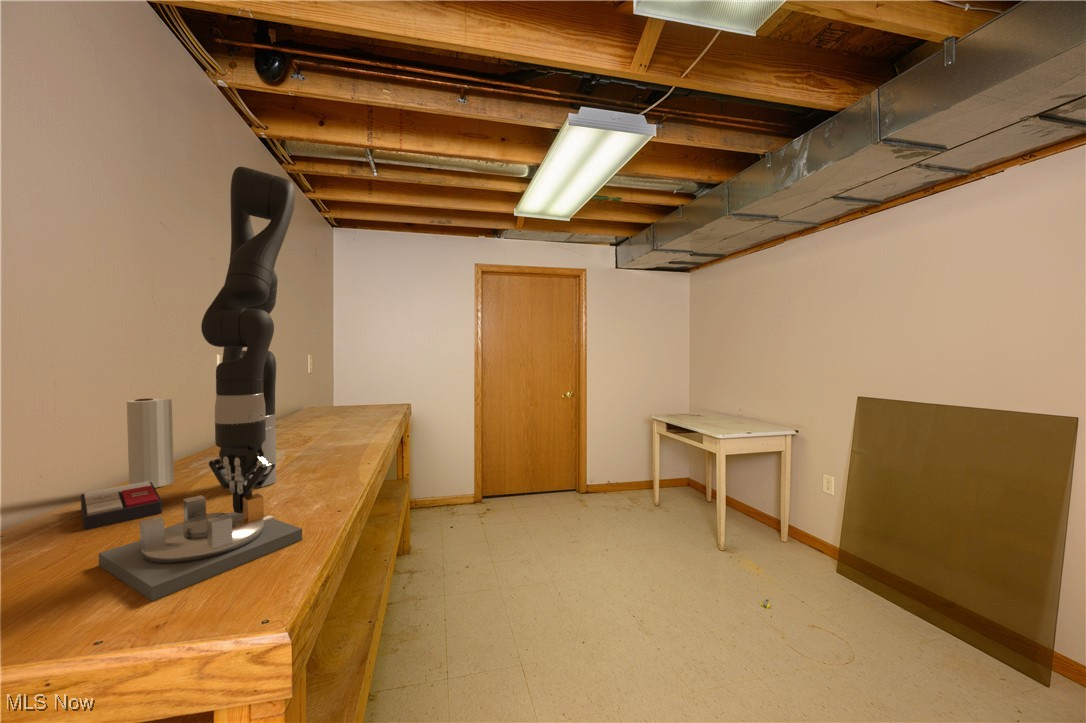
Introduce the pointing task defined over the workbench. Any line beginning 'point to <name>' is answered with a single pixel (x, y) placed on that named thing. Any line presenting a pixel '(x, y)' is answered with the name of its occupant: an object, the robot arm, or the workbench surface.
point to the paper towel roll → (150, 441)
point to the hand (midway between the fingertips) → (242, 511)
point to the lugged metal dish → (201, 531)
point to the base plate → (179, 575)
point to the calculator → (119, 504)
